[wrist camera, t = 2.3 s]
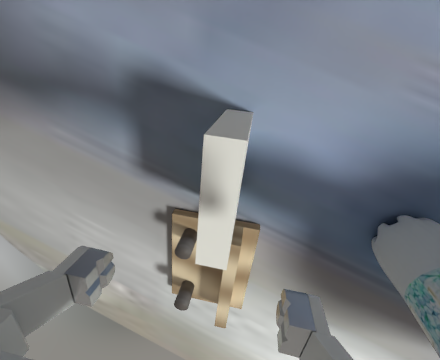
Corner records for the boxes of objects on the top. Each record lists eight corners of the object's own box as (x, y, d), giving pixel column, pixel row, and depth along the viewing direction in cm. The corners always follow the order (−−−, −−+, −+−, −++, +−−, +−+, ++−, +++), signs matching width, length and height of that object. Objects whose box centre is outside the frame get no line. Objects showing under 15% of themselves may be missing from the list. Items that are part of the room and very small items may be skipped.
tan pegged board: (175, 208, 26) (161, 230, 22) (260, 224, 25) (259, 250, 21) (174, 287, 32) (163, 313, 29) (241, 302, 31) (239, 331, 28)
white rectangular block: (227, 108, 20) (204, 134, 12) (253, 112, 20) (247, 140, 12) (216, 201, 25) (195, 263, 17) (238, 205, 24) (226, 270, 16)
